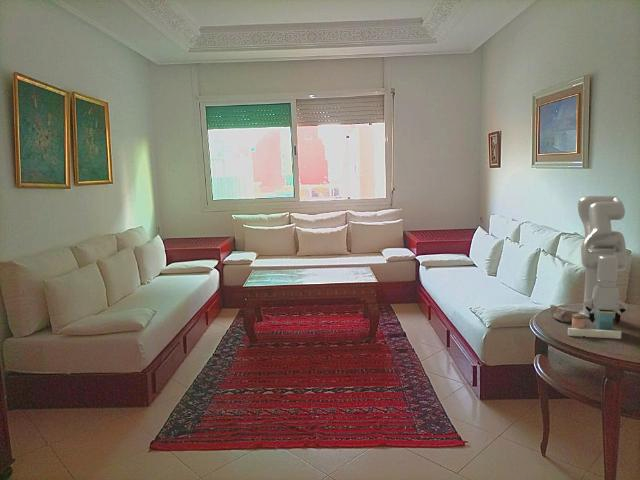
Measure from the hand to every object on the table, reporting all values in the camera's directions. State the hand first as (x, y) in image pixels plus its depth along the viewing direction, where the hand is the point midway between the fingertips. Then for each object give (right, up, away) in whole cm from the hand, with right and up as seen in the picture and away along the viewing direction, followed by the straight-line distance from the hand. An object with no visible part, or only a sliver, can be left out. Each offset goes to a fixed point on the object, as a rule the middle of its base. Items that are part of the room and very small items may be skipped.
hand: (604, 322), depth 215 cm
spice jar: (-12, -5, -2) cm, 13 cm away
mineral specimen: (-10, -2, +15) cm, 19 cm away
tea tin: (0, -4, +1) cm, 4 cm away
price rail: (-8, -5, -6) cm, 11 cm away
